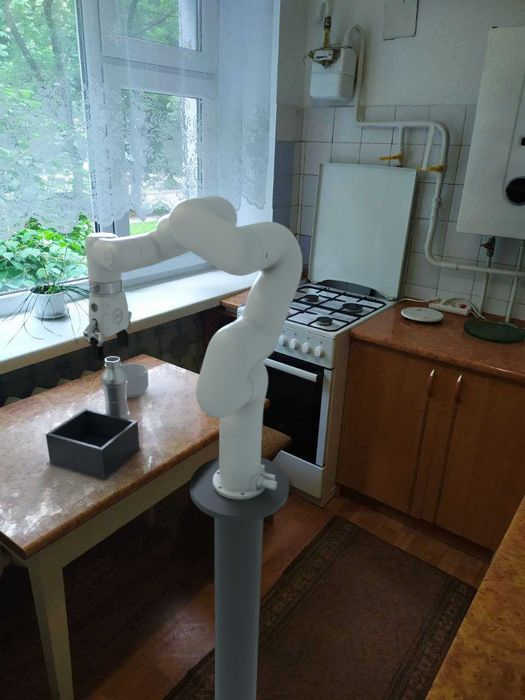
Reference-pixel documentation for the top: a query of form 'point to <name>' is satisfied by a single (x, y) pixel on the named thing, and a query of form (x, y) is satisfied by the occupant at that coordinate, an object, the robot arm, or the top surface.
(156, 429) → the top surface
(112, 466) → the open box
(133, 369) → the teacup
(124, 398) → the plastic bottle
